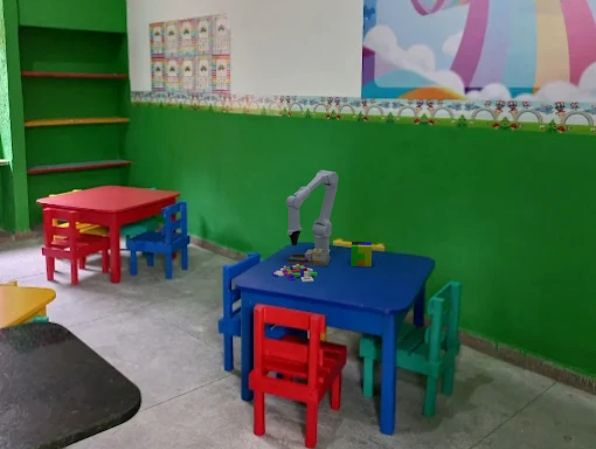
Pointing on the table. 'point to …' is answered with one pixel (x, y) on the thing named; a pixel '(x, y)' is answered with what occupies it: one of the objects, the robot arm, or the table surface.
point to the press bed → (301, 259)
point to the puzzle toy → (361, 253)
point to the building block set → (304, 273)
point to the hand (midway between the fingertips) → (294, 245)
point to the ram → (308, 255)
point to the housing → (316, 254)
